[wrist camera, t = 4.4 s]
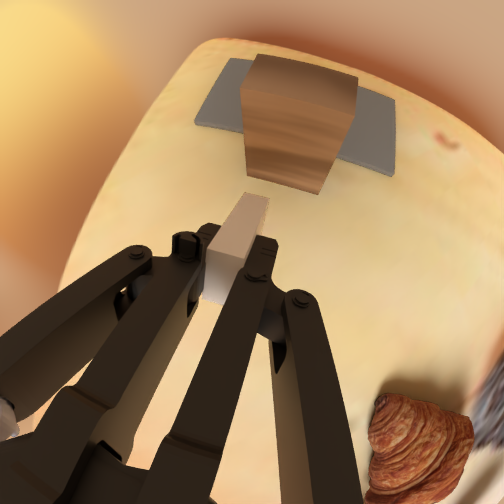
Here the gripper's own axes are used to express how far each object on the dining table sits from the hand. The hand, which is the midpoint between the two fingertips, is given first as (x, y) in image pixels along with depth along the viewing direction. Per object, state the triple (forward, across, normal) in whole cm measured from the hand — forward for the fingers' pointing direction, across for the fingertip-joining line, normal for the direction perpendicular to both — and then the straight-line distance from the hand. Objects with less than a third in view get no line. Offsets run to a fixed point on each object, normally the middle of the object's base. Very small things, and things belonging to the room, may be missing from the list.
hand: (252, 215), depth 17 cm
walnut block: (+12, +1, 0) cm, 12 cm away
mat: (+18, +1, +7) cm, 19 cm away
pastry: (-6, +24, -18) cm, 31 cm away
